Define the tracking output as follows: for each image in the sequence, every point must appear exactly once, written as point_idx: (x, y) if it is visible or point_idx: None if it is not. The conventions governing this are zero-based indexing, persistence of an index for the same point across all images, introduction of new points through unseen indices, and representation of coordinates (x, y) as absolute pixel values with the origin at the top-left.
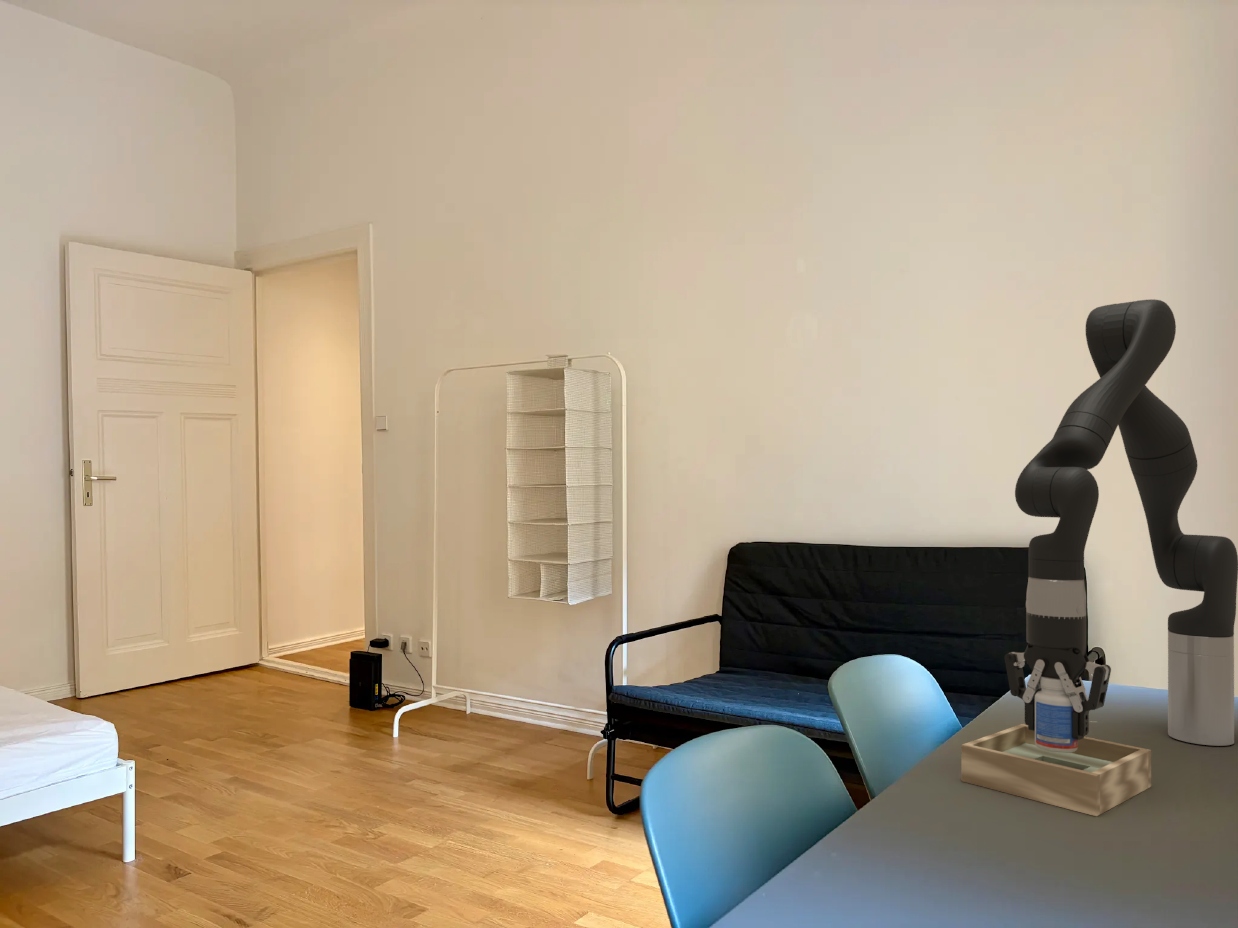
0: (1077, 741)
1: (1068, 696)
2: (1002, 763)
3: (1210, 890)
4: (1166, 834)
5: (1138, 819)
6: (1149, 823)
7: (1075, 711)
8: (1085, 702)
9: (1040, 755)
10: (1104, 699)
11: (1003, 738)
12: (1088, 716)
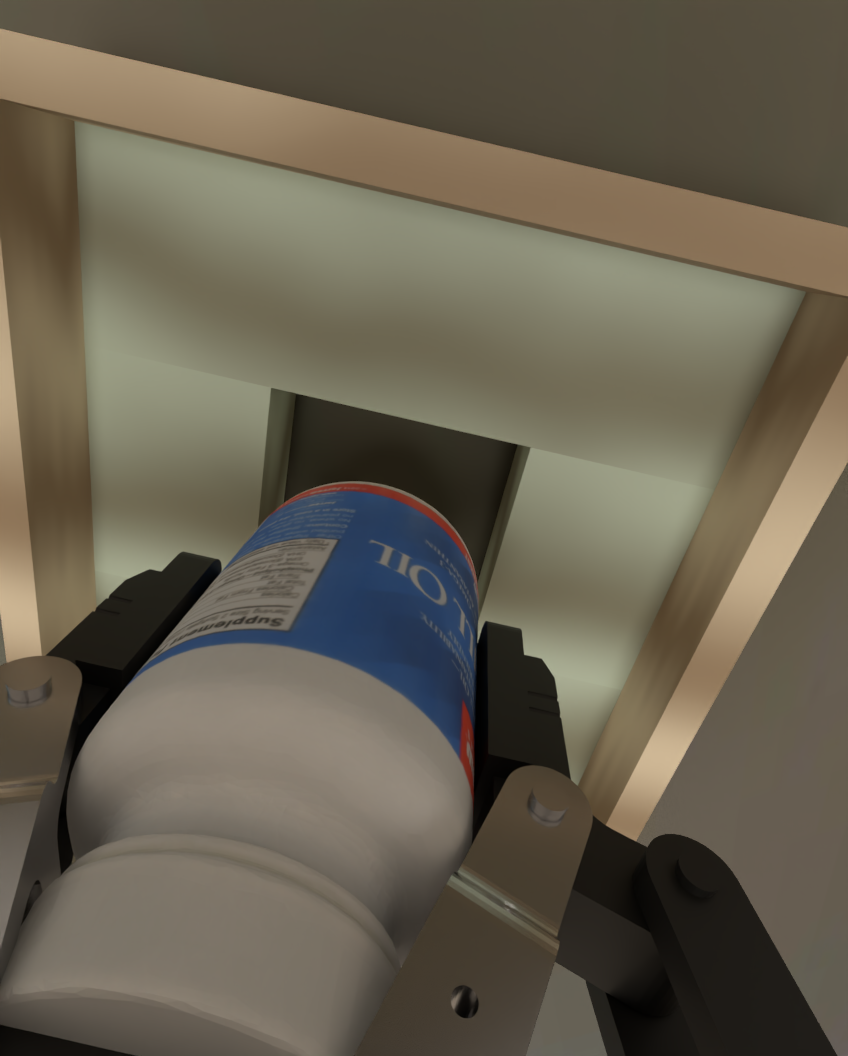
0: (477, 606)
1: (401, 955)
2: None
3: (826, 1035)
4: (784, 807)
5: (710, 729)
6: (743, 746)
7: (473, 838)
8: (566, 959)
9: (260, 387)
10: (765, 947)
11: (41, 448)
12: (566, 762)
